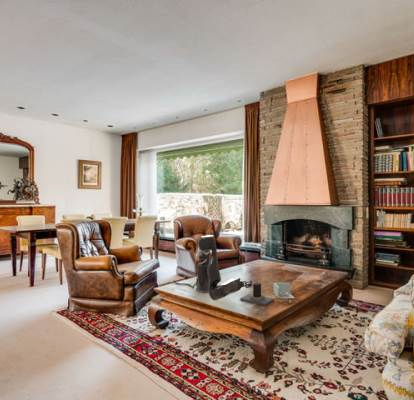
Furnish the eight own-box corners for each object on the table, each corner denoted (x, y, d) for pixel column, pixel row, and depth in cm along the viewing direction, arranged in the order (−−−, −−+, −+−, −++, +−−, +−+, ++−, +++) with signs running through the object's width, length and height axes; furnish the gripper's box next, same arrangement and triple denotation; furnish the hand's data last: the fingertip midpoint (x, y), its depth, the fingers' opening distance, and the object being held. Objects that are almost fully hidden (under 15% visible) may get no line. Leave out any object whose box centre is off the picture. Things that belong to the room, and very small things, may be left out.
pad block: (253, 298, 212) (253, 284, 212) (256, 297, 216) (256, 282, 216) (257, 299, 210) (257, 285, 210) (261, 298, 214) (261, 283, 214)
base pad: (240, 300, 213) (240, 295, 213) (250, 295, 224) (250, 290, 224) (264, 306, 202) (264, 301, 202) (273, 300, 213) (273, 295, 213)
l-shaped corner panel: (278, 298, 218) (278, 287, 218) (273, 292, 230) (273, 282, 230) (295, 298, 218) (295, 287, 218) (289, 293, 230) (289, 282, 230)
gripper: (243, 282, 187) (255, 276, 200) (223, 278, 196) (236, 273, 209) (242, 294, 187) (255, 288, 200) (222, 290, 196) (236, 284, 209)
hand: (245, 280), depth 204 cm, fingers open, 8 cm apart
